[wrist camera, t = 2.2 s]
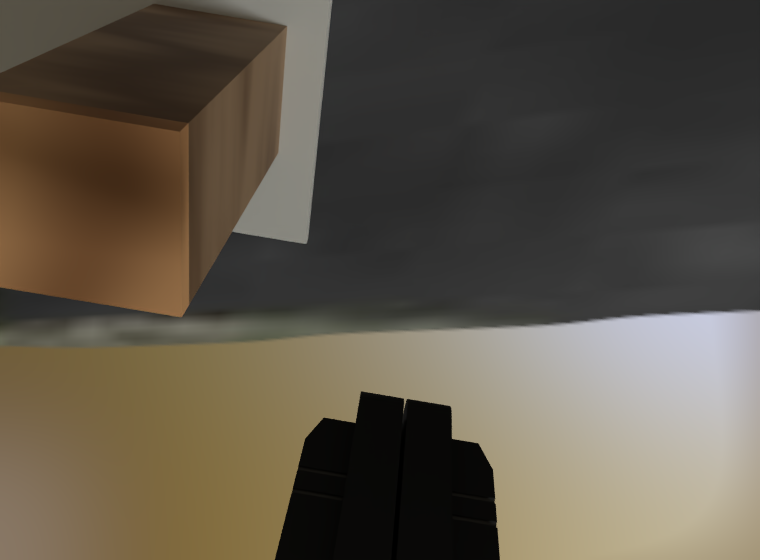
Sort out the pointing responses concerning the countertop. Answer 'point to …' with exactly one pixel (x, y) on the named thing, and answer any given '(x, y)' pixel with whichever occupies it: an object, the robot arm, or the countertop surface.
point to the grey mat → (299, 99)
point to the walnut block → (136, 155)
